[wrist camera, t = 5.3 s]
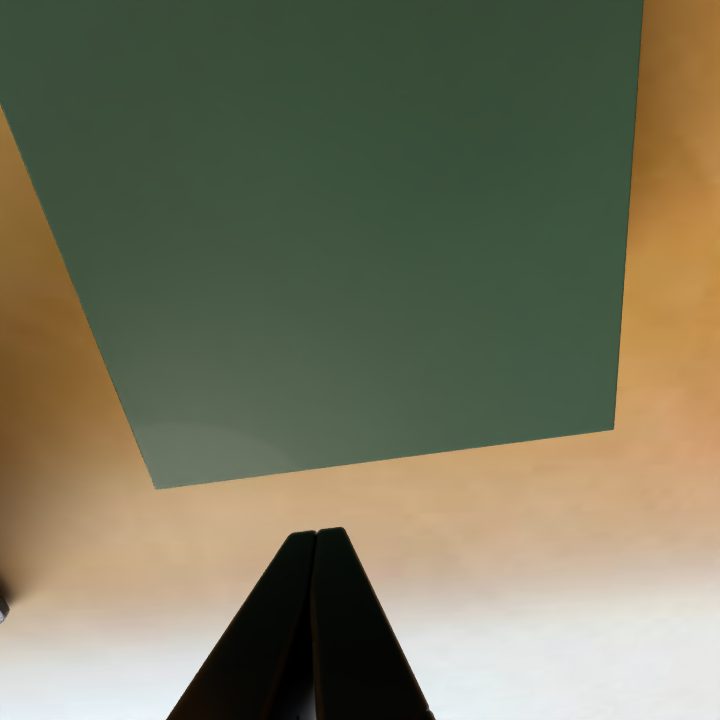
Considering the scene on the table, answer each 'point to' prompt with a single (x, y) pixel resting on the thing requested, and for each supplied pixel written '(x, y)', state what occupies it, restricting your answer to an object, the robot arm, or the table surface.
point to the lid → (335, 217)
